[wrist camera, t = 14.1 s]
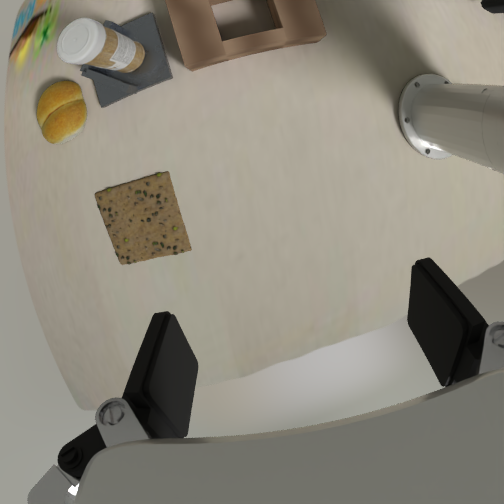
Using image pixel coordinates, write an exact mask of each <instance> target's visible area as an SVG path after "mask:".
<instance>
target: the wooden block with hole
mask: <svg viewBox="0 0 504 504" xmlns="http://www.w3.org/2000/svg"><path fill="white" fill-rule="evenodd" d="M227 1H231V0H165V2H166V5H167V8H168V12H169V15H170V18H171V22H172V25H173V28H174V32H175V35H176V38H177V42H178V45H179V48H180V51H181V55H182V58H183V61H184V65H185V67H187V68H188V69H189V70H191V71H195V70H198V69H201V68H204V67H207V66H211V65H214V64H217V63H221V62H224V61H228V60H232V59H235V58H239V57H243V56H247V55H251V54H256V53H260V52H265V51H269V50H274V49H279V48H285V47H290V46H296V45H302V44H309V43H316V42H319V41H320V40H321V39H322V38H323V37H324V36H325V35H327V34H326V30H325V27H324V24H323V21H322V19H321V16H320V13H319V10H318V7H317V4H316V2H315V0H266V1H267V3H268V6H269V9H270V12H271V15H272V18H273V21H274V24H275V27H276V29H274V30H268V31H263V32H259V33H254V34H250V35H245V36H241V37H237V38H233V39H229V40H226V41H222V39H221V36H220V33H219V29H218V26H217V23H216V20H215V17H214V14H213V11H212V8H211V6H212V5H215V4H219V3H223V2H227Z"/></svg>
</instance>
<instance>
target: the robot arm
mask: <svg viewBox="0 0 504 504" xmlns="http://www.w3.org/2000/svg"><path fill="white" fill-rule="evenodd" d="M414 84H415V85H414ZM399 121H400V125H401V128H402V131H403V134H404V136H405V138H406V139H407V141H408V142H409V144H410V145H411V146H412V147H413V148H414V149H415V150H416V151H417V152H418V153H420V154H421V155H424V156H426V157H428V158H432V159H445V158H448V157H450V156H452V155H455V156H458V157H461V158H464V159H467V160H469V161H472V162H475V163H477V164H480V165H482V166H485V167H487V168H490V169H492V170H495V171H497V172H500V173H502V174H504V86H497V85H479V84H452V83H451V82H450V81H449V80H447V79H446V78H444V77H442V76H439V75H436V74H423V75H419V76H417V77H415V78H413V79H412V80H411V81H410V82H409V83H407V85H406V86H405V88H404V89H403V91H402V94H401V97H400V101H399ZM425 150H426V151H425ZM407 320H408V325H409V327H410V329H411V330H412V332H413V334H414V335H415V337H416V339H417V341H418V343H419V345H420V346H421V348H422V350H423V352H424V353H425V356H426V357H427V359H428V361H429V363H430V365H431V367H432V369H433V371H434V372H435V374H436V376H437V378H438V380H439V382H440V384H441V385H442V386H445V388H443V389H440V390H437V391H434V392H432V393H429V394H426V395H423V396H420V397H418V398H415V399H412V400H409V401H406V402H403V403H400V404H397V405H393V406H390V407H387V408H383V409H380V410H376V411H372V412H369V413H365V414H362V415H357V416H353V417H349V418H345V419H341V420H336V421H331V422H327V423H322V424H317V425H311V426H306V427H301V428H294V429H287V430H281V431H273V432H266V433H258V434H247V435H236V436H222V437H203V438H184V437H186V436H187V434H188V428H189V422H190V415H191V408H192V403H193V397H194V391H195V385H196V379H197V373H198V362H197V359H196V357H195V355H194V353H193V351H192V349H191V347H190V345H189V343H188V341H187V339H186V337H185V335H184V333H183V331H182V329H181V327H180V325H179V323H178V321H177V319H176V317H175V315H174V314H170V313H169V312H168V311H166V312H160V313H155V314H154V315H153V317H152V319H151V322H150V324H149V327H148V329H147V332H146V334H145V337H144V340H143V342H142V345H141V347H140V350H139V352H138V355H137V357H136V360H135V363H134V365H133V368H132V371H131V374H130V376H129V379H128V382H127V385H126V388H125V390H124V393H123V396H122V398H111V399H109V400H106V401H105V402H104V403H102V404H101V405H100V407H99V408H98V410H97V412H96V416H95V420H96V425H94V426H93V427H91V428H90V429H88V430H87V431H85V432H84V433H82V434H81V435H79V436H78V437H76V438H75V439H73V440H72V441H70V442H69V443H67V444H66V445H65V446H63V447H62V449H61V450H60V452H59V455H58V464H59V465H58V466H55V465H53V466H52V467H51V468H50V469H49V471H48V472H47V473H46V474H45V475H44V476H43V477H42V478H41V480H40V481H39V482H38V483H37V484H36V485H35V486H34V487H33V488H32V489H31V491H30V492H29V495H28V504H504V322H494V323H492V324H491V325H488V324H487V323H486V321H485V319H484V318H483V317H482V316H481V314H480V313H479V312H478V311H477V310H476V308H475V307H474V306H473V305H472V304H471V302H470V301H469V300H468V299H467V298H466V297H465V295H464V294H463V293H462V292H461V291H460V290H459V289H458V287H457V286H456V285H455V284H454V283H453V282H452V281H451V279H450V278H449V277H448V276H447V275H446V274H445V273H444V272H443V271H442V270H441V269H440V267H439V266H438V265H437V264H436V263H435V262H434V261H433V260H432V259H431V258H425V259H421V260H417V261H416V262H415V265H413V266H412V271H411V286H410V298H409V308H408V319H407Z"/></svg>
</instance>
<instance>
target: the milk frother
mask: <svg viewBox="0 0 504 504" xmlns="http://www.w3.org/2000/svg"><path fill="white" fill-rule="evenodd" d="M481 5H482V7H483V8H484V9H485V10H487V11H489V12H491V13H504V0H482V1H481Z"/></svg>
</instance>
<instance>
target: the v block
mask: <svg viewBox="0 0 504 504" xmlns="http://www.w3.org/2000/svg"><path fill="white" fill-rule="evenodd" d="M103 26H104V27H106V28H109V29H112V30H114V31H116V32H118V33H120V34H122V35H124V36H126V37H128V38H130V39H131V40H133V41H137V42H139V43H140V44H141V45H142V46H143V48H144V50H145V56H144V59H143V62H142V64H141V65H140V66H139V67H138V68H137V69H135V70H134V71H132V72H128V73H121V72H119V71H117V70H110V69H105V68H100V67H95V66H92V65H88V64H83V65H82V67H81V69H80V71H82V74H81V75H82V76H84V77H87V78H90V79H92V80H94V84H95V87H96V91H97V94H98V98H99V101H100V105H101V108H104V107H107V106H109V105H111V104H113V103H115V102H117V101H119V100H121V99H123V98H126V97H128V96H130V95H132V94H136V93H137V92H139V91H142V90H144V89H146V88H149V87H151V86H154V85H156V84H159V83H161V82H164V81H166V80H169V79H172V78H173V76H172V73H171V69H170V66H169V63H168V60H167V56H166V53H165V49H164V46H163V43H162V39H161V36H160V32H159V29H158V26H157V22H156V19H155V15H154V14H153V13H150V14H147V15H145V16H143V17H140V18H138V19H136V20H133V21H131V22H129V23H127V24H125V25H123V26H119V25H117V24H115V23H113V22H111V21H107V20H106V21H105V23H104V25H103Z"/></svg>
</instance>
